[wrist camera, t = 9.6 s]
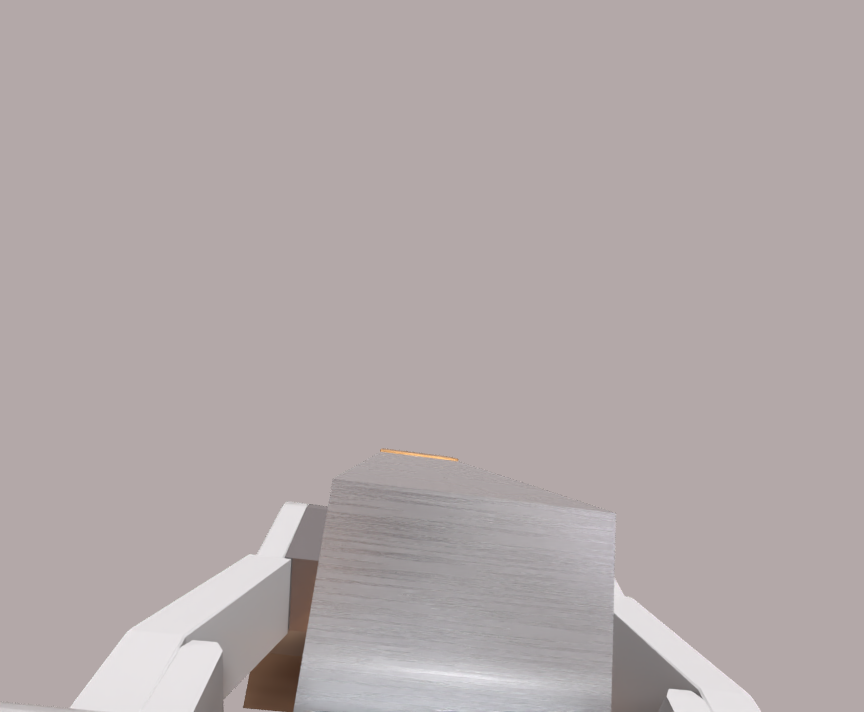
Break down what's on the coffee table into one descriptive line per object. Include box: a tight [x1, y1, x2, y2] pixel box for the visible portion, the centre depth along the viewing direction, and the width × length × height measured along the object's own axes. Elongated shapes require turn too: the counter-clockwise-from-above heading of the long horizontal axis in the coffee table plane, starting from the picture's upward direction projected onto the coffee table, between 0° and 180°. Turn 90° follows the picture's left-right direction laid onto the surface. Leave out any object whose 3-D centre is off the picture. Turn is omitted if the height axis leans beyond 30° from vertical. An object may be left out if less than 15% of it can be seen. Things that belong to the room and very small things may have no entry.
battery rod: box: [293, 448, 616, 712], centre depth 15 cm, size 21×4×4 cm, turn 4°
